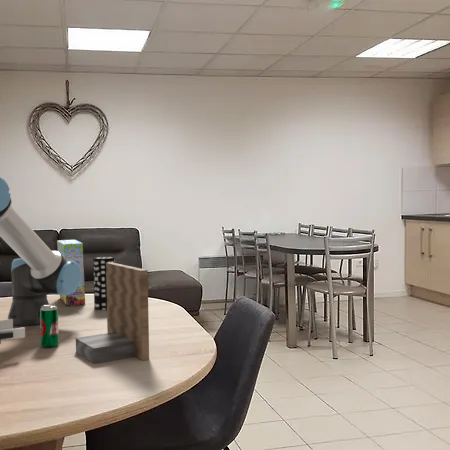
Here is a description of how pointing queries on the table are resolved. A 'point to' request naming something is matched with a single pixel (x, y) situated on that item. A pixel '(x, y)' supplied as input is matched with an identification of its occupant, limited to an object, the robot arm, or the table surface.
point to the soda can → (49, 326)
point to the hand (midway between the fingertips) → (18, 327)
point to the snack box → (74, 252)
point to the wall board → (121, 318)
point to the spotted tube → (100, 281)
